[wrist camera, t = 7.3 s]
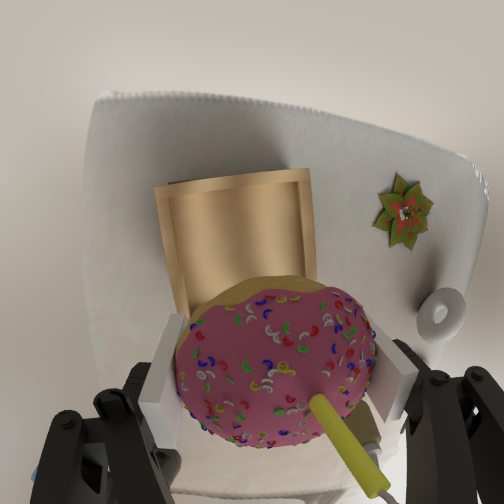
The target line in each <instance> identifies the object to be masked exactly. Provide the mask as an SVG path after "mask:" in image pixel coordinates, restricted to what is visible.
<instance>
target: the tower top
mask: <svg viewBox="0 0 504 504" xmlns="http://www.w3.org/2000/svg"><path fill="white" fill-rule="evenodd" d="M154 191H155V198H156V205H157V211H158V218H159V224H160V230H161V236H162V241H163V247H164V252H165V257H166V263H167V268H168V272H169V277H170V282H171V287H172V291H173V296H174V300H175V304H176V309H177V313H185V314H186V321H187V324H188V322H189V320H190V318H191V316H192V314H193V313H194V311H195V310H196V309H197V308H198V307H199V306H201V305H202V304H204V303H206V302H208V301H210V300H212V299H213V298H215V297H216V296H218V295H219V294H220V293H222V292H223V291H225V290H227V289H229V288H230V287H232V286H234V285H236V284H237V283H240V282H242V281H244V280H246V279H249V278H254V277H261V276H284V275H296V276H301V277H304V278H307V279H310V280H313V281H315V282H317V264H316V246H315V230H314V216H313V204H312V192H311V182H310V172H309V168H302V169H289V170H277V171H267V172H257V173H248V174H239V175H231V176H223V177H216V178H209V179H202V180H195V181H189V182H183V183H177V184H171V185H165V186H159V187H154Z"/></svg>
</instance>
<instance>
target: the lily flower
mask: <svg viewBox="0 0 504 504" xmlns="http://www.w3.org/2000/svg"><path fill="white" fill-rule="evenodd" d="M419 185H420V182H418V183H417V184H416V185H414V186H413V187H412V188H411V189H410V188H409V186H408V184H407V183H406V182H405V181H404V180H403V179H402V178H401V177H399V175H398V174H397V177H396V182H395V185H394V190H393V194H384V195H379V194H378V195H379V197H380V199H381V201H382V202H383V205H384V207H385V209H386V210H385V211H384V212H383V213H382V214H381V216H380V217H379V218H378V220H377V221H376V223H375V224H374V225H373V227H377V228H380V229H381V230H384V231H391V241H390V242H391V244H390V247H392V246H394V245H396V244H397V243H401V242H402V241H403V243H404V244H405V245H406V246H407V247H408V248H409V249H410V250H411V252H412V249H413V247H414V244H415V242H416V239H417V233H423V232H425V231H428V229H427V219H426V216H427V215H428V214H430V213H429V211H430V209H431V206H432V205H433V204H434V203H432V202H430V201H428V200H427V199H426V198H423V194H422V190H421V187H420V186H419ZM401 194H402V196H403V197H404V200H403V198H402V197H401V196H400V195H401ZM407 206H408V208H409V209H408V210H409V211H410V212H409V211H408V210H406V209H405V210H406V211H404V212H405V214H404V216H405V219H404V221H401V217H400V212H399V210H400V209H402V208H404V207H407ZM418 208H420V209H419V210H417V209H418ZM407 212H409V213H407ZM406 216H407V217H408V219H406ZM390 217H392V218H395V219H394V221H391V220H389V219H390ZM428 225H429V224H428ZM408 231H409V233H408ZM390 247H389V248H390Z"/></svg>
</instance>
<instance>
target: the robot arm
mask: <svg viewBox="0 0 504 504" xmlns="http://www.w3.org/2000/svg"><path fill="white" fill-rule="evenodd" d="M363 311H364V310H363ZM364 312H365V311H364ZM365 314H366V316H367V319H368V321H369V323H370V326H371V327H372V328H373V330H374V331H375V333H376V337H375V338H374V345H375V357H376V356H377V357H378V358H377V364H376V365H375V366H374V367H373V373H372V376H371V381H370V385H369V386H368V387H367V390H366V392H367V394H368V396H369V397H370V399H371V401H372V402H373V404H374V406H375V408H376V409H377V411H378V413H379V414H380V416H381V418H382V419H383V421H384V423H385V424H386V423H389V422H392V421H395V420H398V419H400V418H401V415H402V413H403V411H404V410H405V411H406V412H407V414H408V416H407V418H406V420H405V423H404V425H403V427H402V429H401V432H400V434H402V433H403V432H404V430H405V428H406V441H407V442H406V443H407V487H406V504H478V499H477V492H478V494H479V497H480V500H481V503H482V504H504V391H503V390H502V389H501V387H500V386H499V385H498V384H497V382H496V381H495V380H494V378H493V377H492V376H491V375H490V374H489V372H488V371H487V370H485V369H484V368H482V367H479V366H472V367H469V368H468V369H467V370H466V372H465V374H464V376H463V377H455V378H451V377H450V376H449V375H448V374H447V373H445V372H443V371H440V370H431V369H430V368H429V367H428V366H427V365H426V364H425V363H424V362H423V361H422V360H421V359H420V357H419V356H418V355H416V353H415V352H414V351H412V349H411V348H410V347H409V346H408V345H407V344H406V343H404V342H402V341H400V340H398V339H395V340H391V339H390V338H389V337H388V336H387V335H386V334H385V333H384V331H383V330H382V329H381V328H380V327H379V326H378V325H377V324H376V323H375V322H374V321H373V320H372V319H371V318H370V317H369V316H368V314H367V313H366V312H365ZM186 326H187V321H186V314H185V313H178V314H171V315H170V318H169V320H168V323H167V325H166V328H165V330H164V333H163V335H162V338H161V340H160V343H159V345H158V348H157V351H156V353H155V356H154V358H153V361H152V363H147V362H139V363H138V364H136V365H135V366H134V367H133V368H132V369H131V371H130V374H129V376H128V378H127V380H126V384H125V385H124V387H123V389H122V390H121V389H116V388H113V389H107V390H103V391H102V392H100V393H98V394H97V395H96V397H95V398H94V402H93V405H94V406H95V408H96V410H97V412H98V414H99V416H100V417H99V418H91V419H90V418H89V419H82V417H81V415H80V414H79V413H78V412H76V411H73V410H64V411H62V412H59V413H58V414H57V415H55V417H54V418H53V420H52V423H51V426H50V429H49V432H48V435H47V438H46V441H45V444H44V448H43V451H42V454H41V458H40V462H39V464H38V466H37V468H36V469H35V471H34V472H33V474H32V476H31V479H32V481H33V482H34V485H33V489H32V494H31V499H30V504H175V502H174V500H173V498H172V496H171V493H170V486H171V484H172V482H173V481H174V479H175V477H176V476H177V474H178V472H179V471H180V468H181V457H180V455H179V454H178V452H177V451H175V450H174V449H177V444H178V437H179V430H180V424H181V418H182V412H183V406H184V403H183V401H182V399H181V397H180V396H179V395H178V394H177V392H178V388H177V377H176V370H175V367H174V365H176V363H175V352H176V347H177V344H178V341H179V339H180V337H181V335H182V333H183V331H184V329H185V328H186ZM373 335H374V333H373ZM375 359H376V358H375ZM375 362H376V361H375ZM375 362H374V364H375ZM475 407H477V409H478V411H479V412H478V413H477V415H475V414H474V412H473V411H474V409H475ZM108 466H109V469H110V472H109V471H108Z"/></svg>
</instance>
